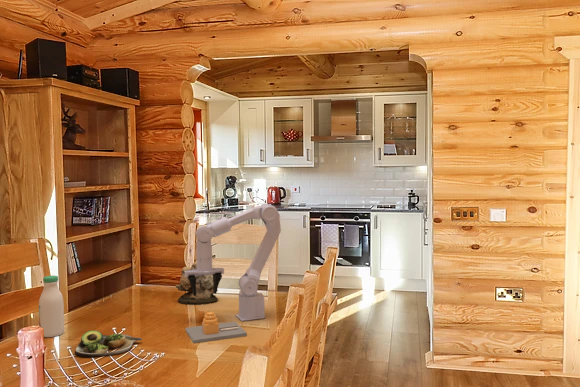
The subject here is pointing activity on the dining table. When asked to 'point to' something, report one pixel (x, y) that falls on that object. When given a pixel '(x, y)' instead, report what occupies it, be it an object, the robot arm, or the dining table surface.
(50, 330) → the milk bottle
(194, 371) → the dining table surface
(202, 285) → the owl figurine
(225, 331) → the grey peg board
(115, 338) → the salad plate
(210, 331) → the wire nut
